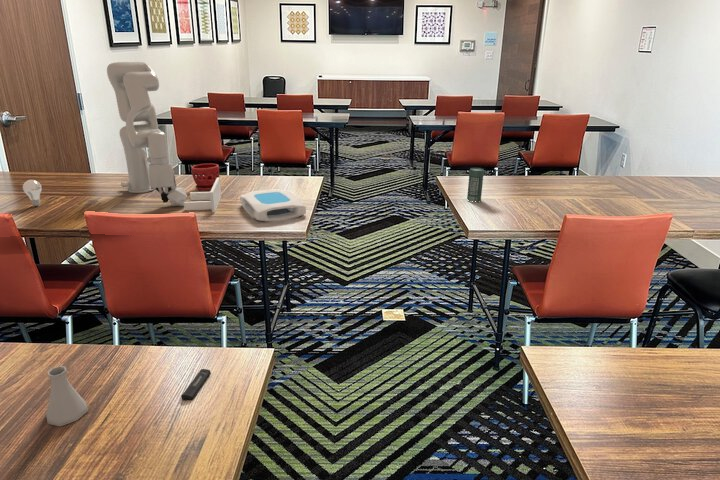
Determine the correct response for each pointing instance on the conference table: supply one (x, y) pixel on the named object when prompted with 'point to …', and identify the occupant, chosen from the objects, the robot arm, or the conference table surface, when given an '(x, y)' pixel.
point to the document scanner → (272, 204)
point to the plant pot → (205, 176)
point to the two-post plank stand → (205, 198)
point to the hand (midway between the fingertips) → (165, 201)
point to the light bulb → (33, 191)
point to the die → (177, 196)
